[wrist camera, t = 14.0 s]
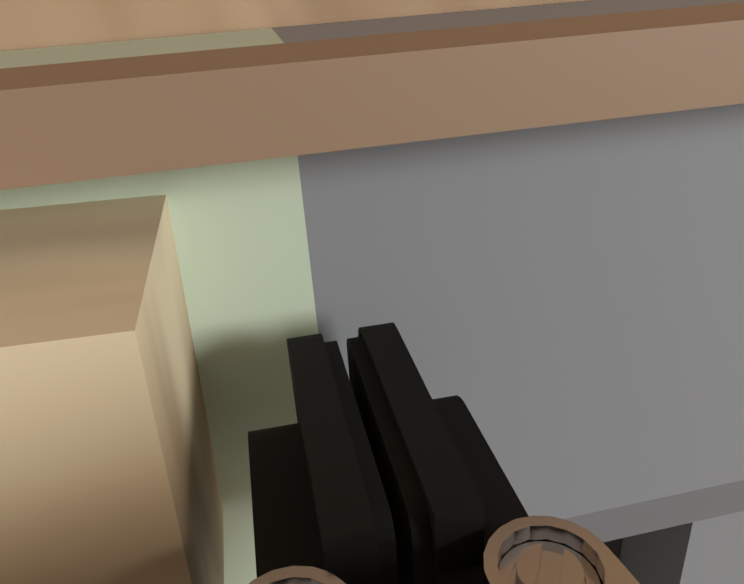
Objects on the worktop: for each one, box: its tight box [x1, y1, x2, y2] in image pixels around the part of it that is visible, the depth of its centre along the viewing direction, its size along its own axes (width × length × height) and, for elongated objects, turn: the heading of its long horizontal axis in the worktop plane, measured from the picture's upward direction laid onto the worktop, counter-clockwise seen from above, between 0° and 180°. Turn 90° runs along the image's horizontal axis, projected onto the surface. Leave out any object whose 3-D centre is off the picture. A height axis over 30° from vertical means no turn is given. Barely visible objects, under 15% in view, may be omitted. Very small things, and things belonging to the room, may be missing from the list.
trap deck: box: [0, 0, 744, 584], centre depth 14 cm, size 20×28×4 cm
